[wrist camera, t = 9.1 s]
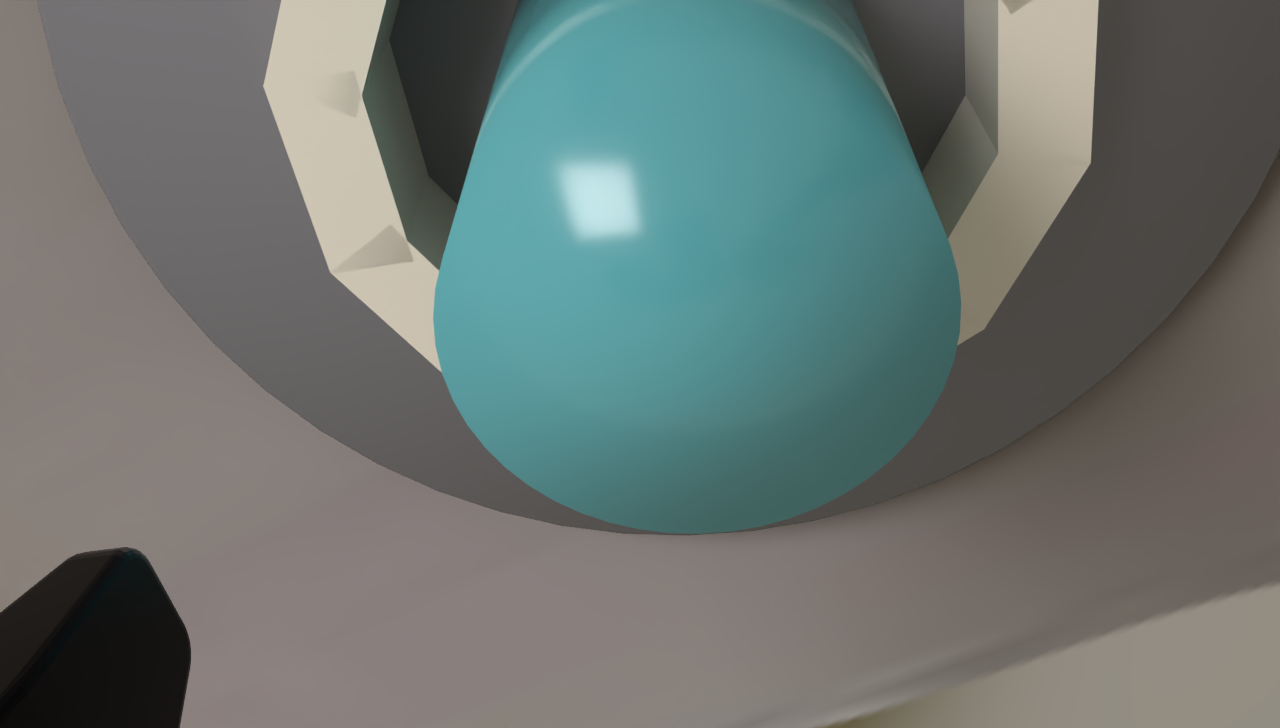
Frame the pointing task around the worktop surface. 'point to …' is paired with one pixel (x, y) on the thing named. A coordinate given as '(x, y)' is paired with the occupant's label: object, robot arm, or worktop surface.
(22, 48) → the worktop surface
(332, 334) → the round tray
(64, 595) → the robot arm
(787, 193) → the teal rounded cylinder
